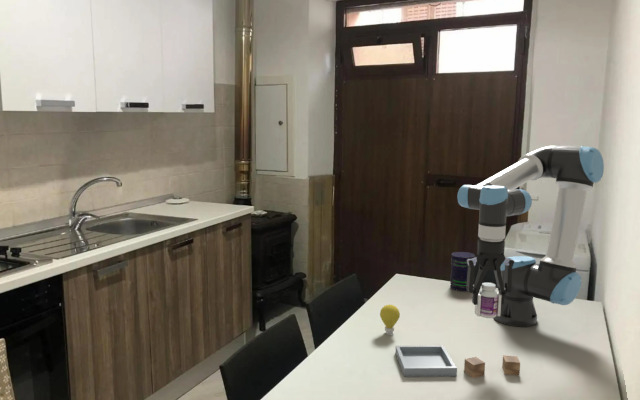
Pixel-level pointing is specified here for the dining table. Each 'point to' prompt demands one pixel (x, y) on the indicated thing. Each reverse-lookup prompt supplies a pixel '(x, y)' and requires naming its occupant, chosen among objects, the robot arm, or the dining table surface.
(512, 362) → the walnut block
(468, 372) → the walnut block
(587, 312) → the dining table surface
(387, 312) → the light bulb
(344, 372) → the dining table surface
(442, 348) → the tray
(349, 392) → the dining table surface
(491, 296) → the pill bottle
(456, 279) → the storage jar
